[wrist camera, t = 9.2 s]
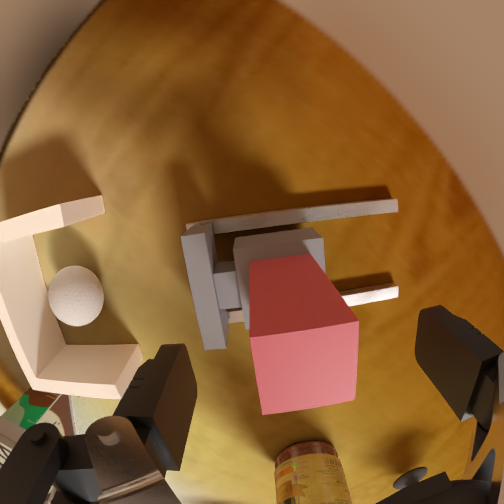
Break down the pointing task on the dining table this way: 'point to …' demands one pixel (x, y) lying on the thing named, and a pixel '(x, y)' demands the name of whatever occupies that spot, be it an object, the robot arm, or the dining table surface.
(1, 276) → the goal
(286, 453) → the sauce bottle
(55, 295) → the sports ball
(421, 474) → the sundae
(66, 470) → the robot arm
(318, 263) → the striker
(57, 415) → the food container
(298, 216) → the track
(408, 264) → the dining table surface
